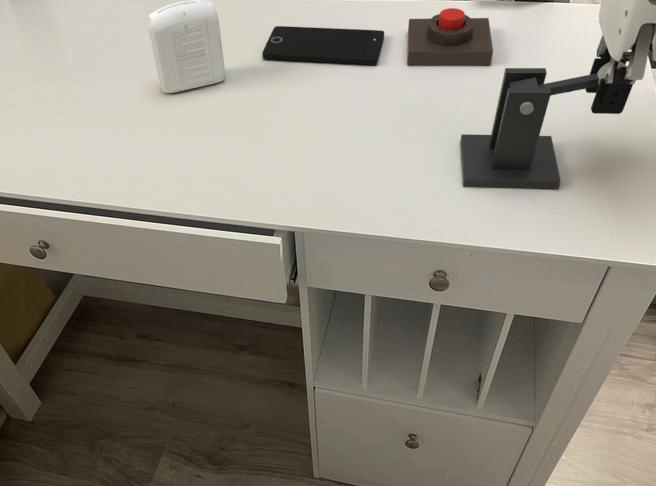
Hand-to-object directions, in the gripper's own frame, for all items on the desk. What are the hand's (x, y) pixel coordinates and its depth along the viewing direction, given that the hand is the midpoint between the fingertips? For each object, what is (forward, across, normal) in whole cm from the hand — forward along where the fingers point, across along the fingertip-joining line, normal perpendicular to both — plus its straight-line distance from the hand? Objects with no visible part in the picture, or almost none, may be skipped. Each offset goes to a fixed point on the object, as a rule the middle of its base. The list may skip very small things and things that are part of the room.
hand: (603, 100), depth 75 cm
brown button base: (+9, +28, +15) cm, 33 cm away
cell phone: (+10, +28, +34) cm, 45 cm away
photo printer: (+10, +18, +53) cm, 57 cm away
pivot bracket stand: (+9, 0, +8) cm, 13 cm away
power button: (+6, +28, +15) cm, 32 cm away
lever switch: (0, 0, +4) cm, 4 cm away
